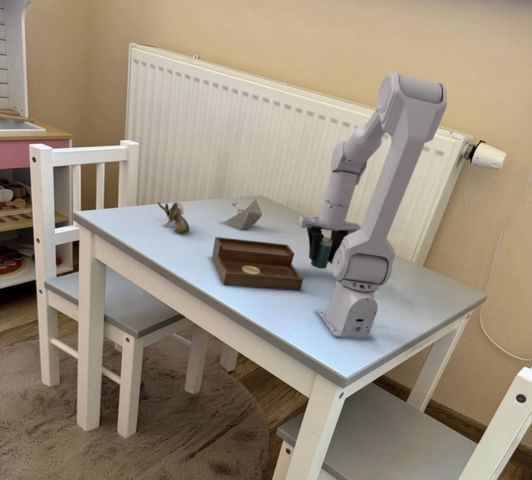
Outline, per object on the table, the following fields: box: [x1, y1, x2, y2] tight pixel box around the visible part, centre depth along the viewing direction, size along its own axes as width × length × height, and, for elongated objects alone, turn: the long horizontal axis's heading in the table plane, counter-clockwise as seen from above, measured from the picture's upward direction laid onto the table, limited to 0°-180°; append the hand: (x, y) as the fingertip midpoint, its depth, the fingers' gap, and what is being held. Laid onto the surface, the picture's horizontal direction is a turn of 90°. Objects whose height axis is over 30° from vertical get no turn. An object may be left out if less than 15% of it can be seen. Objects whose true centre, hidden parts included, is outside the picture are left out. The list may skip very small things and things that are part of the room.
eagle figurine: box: [157, 201, 190, 235], centre depth 125 cm, size 8×7×9 cm
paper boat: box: [222, 198, 263, 231], centre depth 138 cm, size 12×6×9 cm
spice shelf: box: [211, 236, 304, 291], centre depth 112 cm, size 13×17×5 cm
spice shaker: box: [310, 236, 333, 270], centre depth 118 cm, size 4×4×6 cm
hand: (320, 259), depth 119 cm, fingers closed on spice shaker, 4 cm apart
